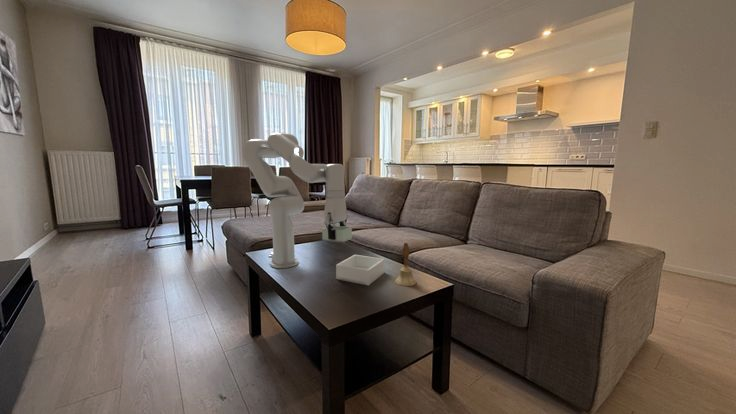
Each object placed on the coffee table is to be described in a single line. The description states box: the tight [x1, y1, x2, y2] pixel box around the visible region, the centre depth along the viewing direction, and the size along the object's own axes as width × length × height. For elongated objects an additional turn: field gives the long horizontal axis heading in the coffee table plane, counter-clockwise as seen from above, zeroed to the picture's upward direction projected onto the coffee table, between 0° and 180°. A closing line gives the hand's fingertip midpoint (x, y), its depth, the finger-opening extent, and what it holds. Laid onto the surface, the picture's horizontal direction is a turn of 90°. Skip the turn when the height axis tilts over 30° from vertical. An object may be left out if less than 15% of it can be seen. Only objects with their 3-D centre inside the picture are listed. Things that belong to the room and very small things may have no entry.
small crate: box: [321, 224, 353, 243], centre depth 125 cm, size 10×7×5 cm
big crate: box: [335, 254, 386, 286], centre depth 126 cm, size 15×16×6 cm
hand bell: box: [394, 242, 417, 287], centre depth 119 cm, size 8×8×16 cm
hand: (337, 237), depth 125 cm, fingers closed on small crate, 7 cm apart
